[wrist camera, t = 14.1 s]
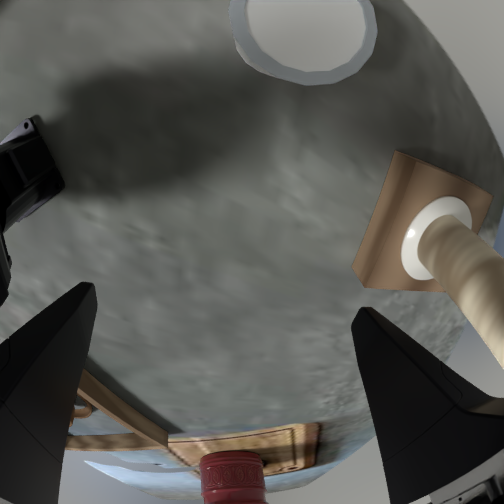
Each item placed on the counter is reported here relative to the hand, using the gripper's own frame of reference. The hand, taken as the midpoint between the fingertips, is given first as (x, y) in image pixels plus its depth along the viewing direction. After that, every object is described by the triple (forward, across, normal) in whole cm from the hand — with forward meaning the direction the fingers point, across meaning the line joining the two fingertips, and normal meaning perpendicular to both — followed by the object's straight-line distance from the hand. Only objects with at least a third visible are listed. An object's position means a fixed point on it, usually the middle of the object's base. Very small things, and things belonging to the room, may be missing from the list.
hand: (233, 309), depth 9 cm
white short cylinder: (+13, -2, -10) cm, 17 cm away
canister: (+13, -9, +56) cm, 58 cm away
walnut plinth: (+13, -18, 0) cm, 22 cm away
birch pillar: (+10, -18, 0) cm, 20 cm away
